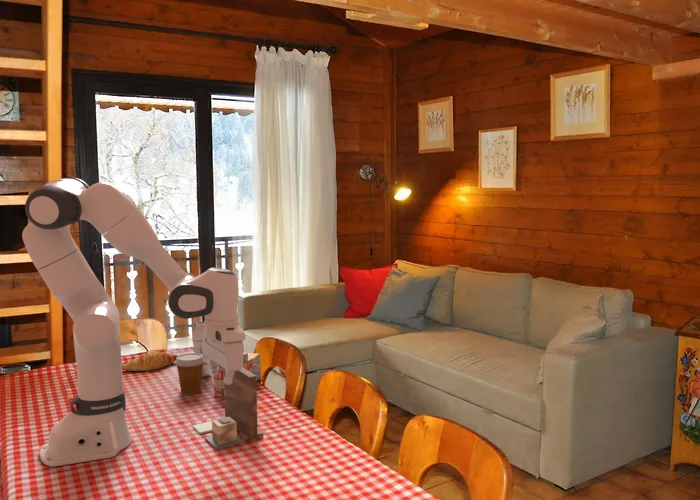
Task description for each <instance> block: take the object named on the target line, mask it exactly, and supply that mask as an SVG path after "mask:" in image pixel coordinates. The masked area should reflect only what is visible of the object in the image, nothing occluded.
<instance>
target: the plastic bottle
mask: <svg viewBox="0 0 700 500" xmlns="http://www.w3.org/2000/svg"><path fill="white" fill-rule="evenodd" d="M204 330H205V320H204V321H203V320H199V321H196V322H195V330H194V332H193V334H192V336H191V340H192V346H193V351H194V352H193V353H199V354H202V355H203V358H204V362H203V369H202V378H205V377H209V376H211V375H212V374H211V368H210V364H209V358H208V357H207V356H205V355H204V354H203V352H202V339H203V332H204Z"/></svg>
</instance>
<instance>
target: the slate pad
mask: <svg viewBox="0 0 700 500" xmlns="http://www.w3.org/2000/svg"><path fill="white" fill-rule="evenodd" d="M204 440H205V441H206V442H207V443H208V444H209V445H210V446H211V447H212V448H213V449H214V450H215V451H218V450H221V449H225V448H230V447H232V446H233V447H234V446H237V445H238V446H239V445H241V444H244V443H245V442H244V440H243V439H241V438H240V437H239V434H237V440H235V441H231V442H227V443H223V444H218V443H217V442H216V441H215V440H214V439H213V438H212V435H210V436H205V437H204Z"/></svg>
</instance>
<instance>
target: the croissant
mask: <svg viewBox="0 0 700 500" xmlns="http://www.w3.org/2000/svg"><path fill="white" fill-rule="evenodd" d="M177 356H179V355H178V354H173V353H166V352H164V351H162V352H161V351H160V350H158V349H151V350H149V351H147V352H145V354H141V355H138V356H137V357H136V358H135V357H134V359H130V360H129V361H127V363H124V364H122V370H124V371H129V372H144V371H145V372H148V371H153V370H159V369H162V368H163V367H167V366H170V365H172V364H174V363H175V361H176V358H177Z"/></svg>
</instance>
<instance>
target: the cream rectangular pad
mask: <svg viewBox="0 0 700 500" xmlns="http://www.w3.org/2000/svg"><path fill="white" fill-rule="evenodd" d="M192 428H193V430H195V431H196V432H197V433H198V434H199V435H205V434H210V433H212V420H211V421H210V420H209V421H205V422H202V423H198V424H197V423H196V424H194V425H193V424H192Z"/></svg>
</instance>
